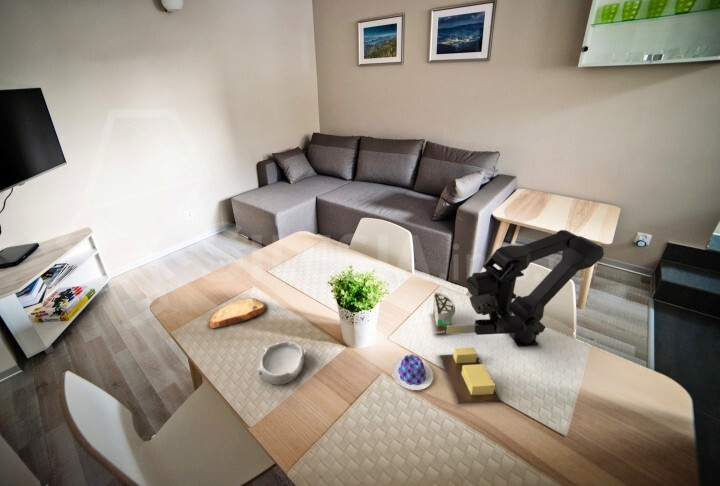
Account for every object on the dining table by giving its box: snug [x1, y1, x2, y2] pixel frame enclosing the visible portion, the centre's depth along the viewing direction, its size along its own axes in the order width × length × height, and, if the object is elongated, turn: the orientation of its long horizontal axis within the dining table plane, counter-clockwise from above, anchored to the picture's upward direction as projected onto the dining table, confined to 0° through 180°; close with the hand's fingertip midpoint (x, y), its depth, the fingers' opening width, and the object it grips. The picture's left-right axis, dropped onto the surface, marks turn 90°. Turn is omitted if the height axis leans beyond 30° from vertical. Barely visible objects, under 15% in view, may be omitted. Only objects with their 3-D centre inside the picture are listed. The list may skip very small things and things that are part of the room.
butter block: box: [461, 363, 496, 395], centre depth 92 cm, size 6×7×4 cm
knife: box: [446, 318, 506, 336], centre depth 102 cm, size 21×2×4 cm, turn 90°
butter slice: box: [452, 346, 478, 363], centre depth 100 cm, size 6×2×4 cm, turn 90°
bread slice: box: [209, 297, 267, 329], centre depth 128 cm, size 18×18×4 cm
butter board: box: [439, 354, 500, 404], centre depth 96 cm, size 11×16×1 cm
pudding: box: [391, 354, 434, 391], centre depth 97 cm, size 12×12×5 cm
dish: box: [257, 340, 308, 385], centre depth 103 cm, size 14×14×5 cm
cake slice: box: [432, 292, 456, 336], centre depth 113 cm, size 12×6×10 cm, turn 168°
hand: (495, 328), depth 103 cm, fingers closed on knife, 2 cm apart
